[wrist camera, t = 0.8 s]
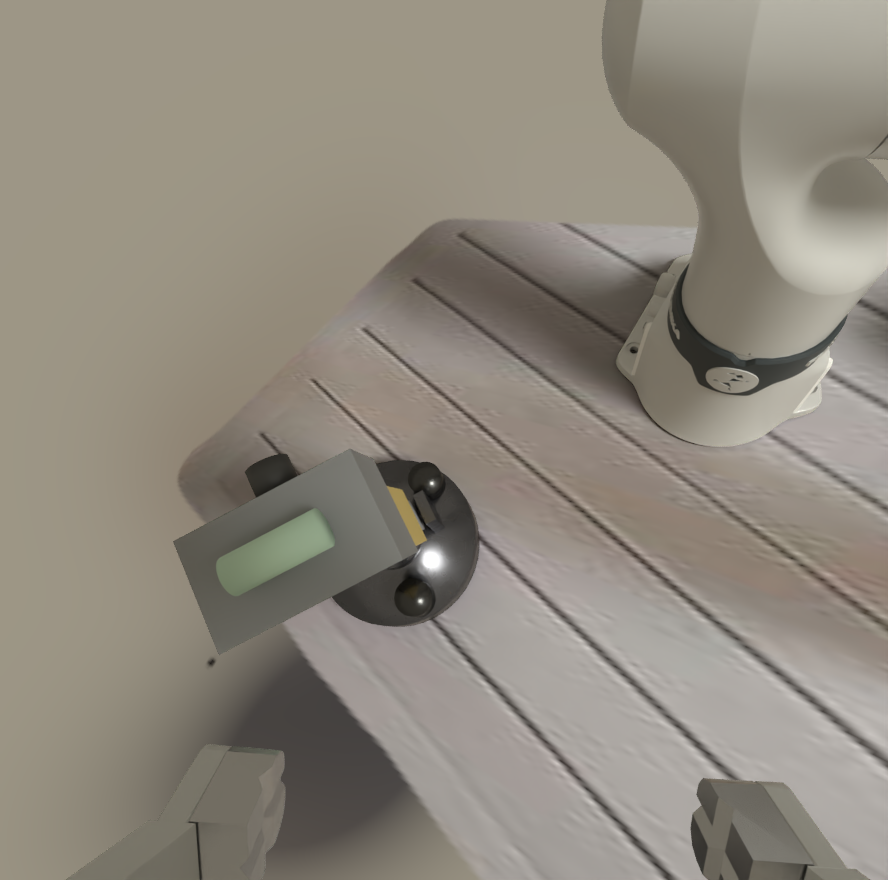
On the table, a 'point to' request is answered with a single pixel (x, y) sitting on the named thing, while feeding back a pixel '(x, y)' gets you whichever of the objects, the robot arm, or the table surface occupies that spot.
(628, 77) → the robot arm
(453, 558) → the levelling base
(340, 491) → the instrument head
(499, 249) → the table surface
